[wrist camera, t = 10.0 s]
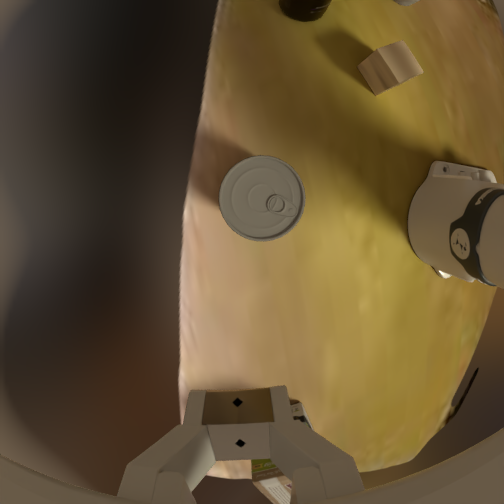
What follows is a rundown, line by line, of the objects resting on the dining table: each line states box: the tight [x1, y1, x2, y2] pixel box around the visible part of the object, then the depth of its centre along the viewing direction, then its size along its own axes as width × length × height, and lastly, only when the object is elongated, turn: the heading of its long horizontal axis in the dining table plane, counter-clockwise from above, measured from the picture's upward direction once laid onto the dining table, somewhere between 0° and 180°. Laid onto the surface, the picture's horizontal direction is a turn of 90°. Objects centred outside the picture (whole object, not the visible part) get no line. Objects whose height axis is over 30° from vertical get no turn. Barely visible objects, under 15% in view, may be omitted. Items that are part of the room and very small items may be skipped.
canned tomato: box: [219, 155, 305, 241], centre depth 31 cm, size 8×8×11 cm
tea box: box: [251, 402, 314, 504], centre depth 40 cm, size 15×10×15 cm
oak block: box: [357, 40, 424, 96], centre depth 30 cm, size 5×5×7 cm
